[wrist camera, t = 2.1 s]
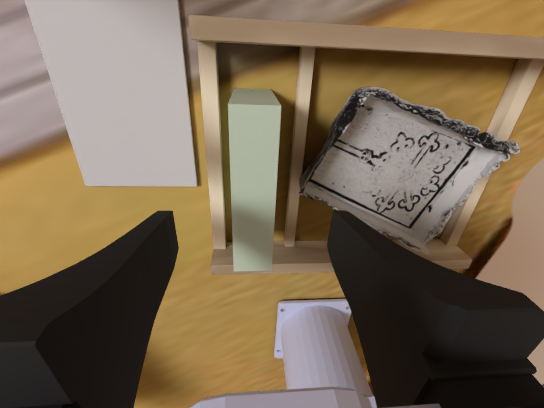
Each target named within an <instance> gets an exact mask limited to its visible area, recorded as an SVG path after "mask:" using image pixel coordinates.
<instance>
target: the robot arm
mask: <svg viewBox="0 0 544 408" xmlns="http://www.w3.org/2000/svg"><path fill="white" fill-rule="evenodd" d="M327 248H328V252H329V256H330V260H331V264H332V266H333V269H334V271H335V274H336V276H337V279H338V281H339V283H340V286H341V288H342V290H343V293H344V295H345V297H346V299H324V300H293V301H281V302H279V303H278V312H277V324H276V336H275V349H274V357H275V358H283V362H284V371H285V379H286V388H287V390H271V391H256V392H240V393H226V394H221V395H216V396H211V397H206V398H203V399H201V400H200V401H198V402H197V403H195V404H193V405H192V406H190V407H189V408H544V384H543V385H541V384H540V383H539V382H538V381H537V379H536V378H535V377H534V376H533V375H532V374H534V373H536V367H535V366H534V365H533V364H532V363H531V362H530V361H529V360H528V359H527V357H528V356H529V354H531V352H532V351H533V350H534V349H535V348H536V347H537V346H538V344H539V343H540V342H541V341H542V340H543V338H544V311H543V310H541V309H540V308H539V307H538V306H537V305H536V304H535V303H534V302H532V301H531V300H530V299H529V298H528V297H527V296H526V295H524V294H523V293H521V292H517V291H514V290H510V289H507V288H503V287H500V286H496V285H493V284H490V283H486V282H483V281H480V280H477V279H475V278H472V277H469V276H466V275H463V274H461V273H458V272H455V271H453V270H450V269H448V268H445V267H443V266H441V265H438V264H436V263H434V262H431V261H429V260H427V259H425V258H423V257H421V256H419V255H417V254H415V253H413V252H411V251H409V250H407V249H405V248H404V247H402V246H400V245H398V244H397V243H395V242H393V241H392V240H390V239H389V238H387V237H385V236H384V235H382V234H381V233H379V232H378V231H376V230H375V229H373V228H372V227H370V226H369V225H368V224H366V223H365V222H363V221H362V220H360V219H359V218H357V217H356V216H355V215H353V214H352V213H350V212H348V211H346V210H333V215H332V221H331V226H330V232H329V237H328V242H327ZM177 253H178V241H177V235H176V229H175V223H174V217H173V211H157V212H156V213H154V214H153V215H151V216H150V217H148V218H147V219H146V220H144V221H143V222H142V223H140V224H139V225H137V226H136V227H135V228H133V229H132V230H131V231H129V232H128V233H126V234H125V235H123V236H122V237H120V238H119V239H117V240H116V241H114V242H113V243H111V244H110V245H108V246H107V247H105V248H103V249H102V250H100V251H98V252H97V253H95V254H93V255H92V256H90V257H88V258H86V259H84V260H82V261H80V262H79V263H77V264H75V265H73V266H71V267H68V268H66V269H64V270H62V271H60V272H58V273H55V274H53V275H51V276H49V277H47V278H45V279H42V280H40V281H37V282H35V283H33V284H30V285H28V286H25V287H23V288H20V289H17V290H15V291H12V292H9V293H7V294H4V295H1V296H0V408H134V402H135V398H136V393H137V389H138V384H139V380H140V375H141V371H142V367H143V363H144V358H145V354H146V350H147V346H148V342H149V339H150V335H151V331H152V327H153V324H154V320H155V317H156V314H157V312H158V309H159V306H160V304H161V301H162V299H163V296H164V293H165V291H166V288H167V286H168V283H169V280H170V278H171V275H172V272H173V270H174V266H175V262H176V258H177ZM351 312H352V315H353V318H354V321H355V325H356V328H357V331H358V335H359V338H360V342H361V345H362V349H363V352H364V356H365V360H366V364H367V368H368V372H369V376H370V380H371V384H372V388H373V392H374V396H372V393H371V390H370V387H369V385H368V382H367V379H366V377H365V374H364V371H363V368H362V366H361V363H360V360H359V357H358V355H357V352H356V349H355V346H354V344H353V341H352V338H351V335H350V333H349V330H348V327H347V326H348V323H349V319H350V316H351Z"/></svg>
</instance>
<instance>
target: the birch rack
mask: <svg viewBox="0 0 544 408" xmlns="http://www.w3.org/2000/svg"><path fill="white" fill-rule="evenodd" d="M188 16H189V27H190V38H191V39H192V40H196V41H197V45H198V58H199V70H200V83H201V96H202V108H203V121H204V133H205V146H206V159H207V171H208V184H209V197H210V209H211V222H212V234H213V247H214V250H213V256H212V261H211V273H212V275H229V274H271V273H313V272H335V271H334V269H333V266H332V264H331V260H330V256H329V252H328V248H327V242H328V240H314V241H295V233H296V224H297V215H298V205H299V196H300V195H299V192H300V186H299V179H300V178H301V177H302V168H303V159H304V150H305V140H306V131H307V122H308V112H309V103H310V94H311V84H312V75H313V66H314V57H315V48H328V49H346V50H364V51H382V52H401V53H419V54H437V55H455V56H473V57H492V58H510V59H518V61H517V63H516V66H515V68H514V70H513V72H512V75H511V77H510V79H509V82H508V84H507V86H506V88H505V91H504V93H503V95H502V98H501V100H500V102H499V104H498V107H497V109H496V111H495V114H494V116H493V118H492V120H491V123H490V125H489V127H488V130H487V132H491V133H492V134H494V135H496V136H497V138H498V139H499V140H503V141H506V140H508V138H509V136H510V134H511V132H512V130H513V128H514V126H515V124H516V122H517V120H518V117H519V115H520V113H521V111H522V109H523V107H524V105H525V103H526V101H527V99H528V97H529V95H530V93H531V91H532V88H533V86H534V84H535V82H536V80H537V78H538V76H539V74H540V72H541V70H542V68H543V66H544V37H531V36H515V35H499V34H484V33H468V32H452V31H436V30H421V29H405V28H389V27H374V26H358V25H342V24H326V23H311V22H295V21H279V20H263V19H248V18H232V17H216V16H201V15H188ZM217 42H218V43H237V44H255V45H273V46H291V47H300V53H299V65H298V77H297V89H296V101H295V114H294V126H293V138H292V150H291V162H290V174H289V186H288V198H287V210H286V222H285V234H284V241H273V256H272V271H236V272H234V267H233V242H226V222H225V201H224V180H223V160H222V139H221V119H220V98H219V78H218V57H217ZM490 151H491V150H490ZM490 151H489V152H490ZM490 175H491V174H490ZM490 175H489V176H488V177H485V178H483V177H481V179H480V180H479V181H475V183H476V184H475V188H474V190H473V192H472V193H471V194H470V195H469V197H468V198H467V199H466V201H465V203H463V204H462V205H461V206H460V207H458V208H457V209H455V210H454V211H453V212H452V215H451V217H450V219H449V220H448V222H447V223H446V226H445V228H444V230H443V232H442V235H441V237H440V239H433V240H431V241H427V242H426V244H425V247H426V248H428V249H429V250H430V252H429V253H428V254H426V253H424V252H421V251H415V250H413V249H412V248H411V247H408V246H405V245H404V244H403V243H402V242H400V241H398V239H397V240H396V239H394V240H392V241H393V242H395V243H397V244H398V245H400V246H402V247H404V248H405V249H407V250H409V251H411V252H413V253H415V254H417V255H419V256H421V257H423V258H425V259H427V260H429V261H431V262H434V263H436V264H438V265H441V266H443V267H445V268H448V269H468V268H469V266H470V264H471V262H472V259H471V258H470V257H469V256H468V255H467V254H466V253H464V252H463V251H462V250H461V249H460V248H459V247H458V246H457V244H458V242H459V240H460V237H461V235H462V233H463V231H464V229H465V227H466V225H467V223H468V221H469V219H470V217H471V215H472V213H473V211H474V208H475V206H476V204H477V202H478V200H479V198H480V196H481V194H482V192H483V190H484V188H485V186H486V184H487V182H488V180H489V177H490Z"/></svg>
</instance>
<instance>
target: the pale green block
mask: <svg viewBox="0 0 544 408" xmlns="http://www.w3.org/2000/svg"><path fill="white" fill-rule="evenodd" d="M280 121H281V104H280V103H279V101H278V100H277V98H276V96H275V95H274V93H273V92H272V90H271V89H250V88H234V90H233V93H232V95H231V98H230V100H229V102H228V122H229V151H230V180H231V209H232V238H233V267H234V272H236V271H272V256H273V239H274V222H275V205H276V188H277V171H278V155H279V138H280Z"/></svg>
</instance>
